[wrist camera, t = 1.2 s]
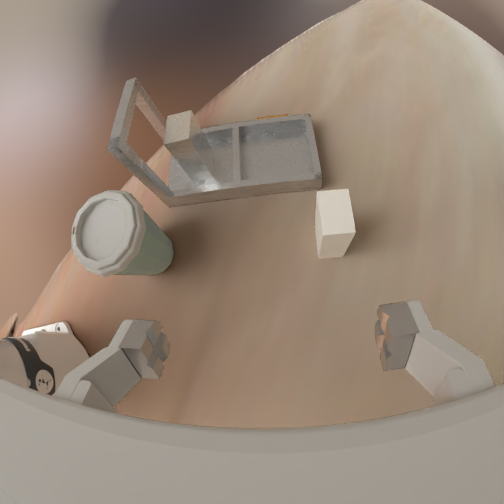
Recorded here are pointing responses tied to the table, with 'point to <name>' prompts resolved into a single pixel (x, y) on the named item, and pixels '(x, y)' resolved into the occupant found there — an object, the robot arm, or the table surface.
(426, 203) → the table surface
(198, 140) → the rack
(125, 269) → the disposable coffee cup
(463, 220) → the table surface
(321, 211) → the cream rectangular block
